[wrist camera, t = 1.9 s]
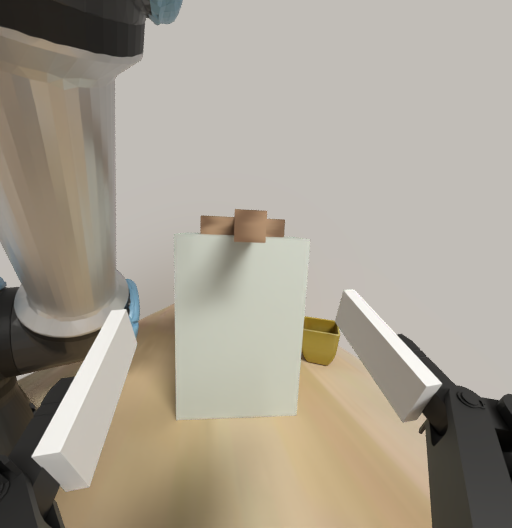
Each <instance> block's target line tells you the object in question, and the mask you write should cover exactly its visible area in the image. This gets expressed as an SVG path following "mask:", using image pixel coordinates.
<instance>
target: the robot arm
mask: <svg viewBox="0 0 512 528" xmlns="http://www.w3.org/2000/svg"><path fill="white" fill-rule="evenodd" d="M181 5H182V0H0V242H1V244H2V246H3V248H4V250H5V252H6V254H7V256H8V258H9V260H10V262H11V264H12V266H13V268H14V270H15V272H16V274H17V276H18V278H19V280H20V282H21V286H20V287H14V288H6V287H5V286H6V282H4V281H3V279H2V278H1V277H0V528H65V527H64V524H63V521H62V518H61V515H60V512H59V509H58V506H57V503H56V501H55V500H54V498H55V496H56V494H57V491H58V489H59V486H60V487H61V488H62V489H63V490H64V491H65V492H68V491H73V490H78V489H82V488H87V487H90V484H91V481H92V478H93V475H94V472H95V469H96V466H97V463H98V460H99V457H100V454H101V451H102V448H103V445H104V442H105V439H106V436H107V433H108V430H109V427H110V424H111V421H112V418H113V415H114V412H115V409H116V406H117V403H118V400H119V397H120V394H121V391H122V388H123V385H124V382H125V379H126V377H127V374H128V371H129V368H130V365H131V362H132V359H133V356H134V353H135V350H136V347H137V341H136V337H137V333H138V328H139V324H138V320H139V315H140V305H139V295H138V290H137V286H136V284H135V283H134V282H133V281H132V280H130V279H125V278H124V276H123V275H122V274H121V273H120V272H119V271H118V270H117V269H116V189H115V188H116V187H115V186H116V184H115V78H116V77H117V75H118V74H120V73H121V72H123V71H125V70H126V69H128V68H130V67H131V66H132V65H134V64H136V63H137V62H139V61H141V59H142V57H143V45H144V28H145V20H146V18H149V19H151V21H153V22H154V23H155V24H156V25H159V24H161V23H162V24H170V23H172V22H174V20H175V19H176V17H177V15H178V13H179V10H180V8H181ZM335 323H336V324H337V326H338V327H339V329H340V330H341V331H342V333H343V334H344V336H345V337H346V339H347V340H348V342H349V343H350V345H351V346H352V348H353V349H354V351H355V352H356V354H357V355H358V357H359V358H360V360H361V361H362V363H363V364H364V366H365V367H366V369H367V370H368V372H369V373H370V375H371V376H372V378H373V379H374V381H375V382H376V384H377V385H378V386H379V388H380V389H381V391H382V392H383V394H384V395H385V397H386V398H387V400H388V401H389V403H390V404H391V406H392V407H393V409H394V410H395V412H396V413H397V415H398V416H399V418H400V419H401V421H402V422H408V421H413V420H417V419H418V417H419V416H420V415H421V413H423V414H424V415H425V417H426V418H427V419H426V421H425V422H424V423H423V425H422V426H421V427H420V429H419V433H420V434H422V433H423V431H424V430H425V429H426V443H427V457H428V471H429V486H430V500H431V514H432V528H512V394H507V395H504V396H503V397H502V398H501V399H500V400H494V399H487V398H481V397H480V396H478V395H477V394H476V393H474V392H473V391H471V390H469V389H467V388H465V387H462V386H456V385H455V384H454V383H453V382H452V381H451V380H450V379H449V378H448V377H447V376H446V375H445V374H444V373H443V372H442V371H441V370H440V369H439V368H438V367H437V366H436V365H435V364H434V363H433V362H432V361H431V360H430V359H429V358H427V357H426V355H425V354H424V353H423V352H422V351H420V349H419V348H418V347H417V346H416V344H415V343H413V341H411V340H410V339H408V338H407V337H405V336H404V335H402V334H398V335H396V334H395V333H394V331H393V330H392V329H391V328H390V327H389V326H388V325H387V324H386V323H385V322H384V321H383V320H382V319H381V318H380V317H379V316H378V314H377V313H376V312H375V311H374V310H373V309H372V308H371V307H370V306H369V305H368V304H367V303H366V302H365V300H364V299H363V298H362V297H361V296H359V294H358V293H357V292H356V291H355V290H354V289H353V290H344V291H343V294H342V298H341V301H340V305H339V309H338V313H337V316H336V320H335ZM80 361H83V363H82V365H81V367H80V369H79V371H78V372H77V374H76V376H75V377H69V378H62V379H61V380H59V381H58V382H57V383H56V384H55V385H54V386H53V387H52V388H51V389H50V390H49V392H48V393H47V395H46V396H45V398H44V400H43V401H42V403H41V406H40V407H39V408H38V409H36V407H35V406H34V405H33V404H32V403H31V402H30V401H29V399H28V397H27V396H26V394H25V393H24V392H23V390H22V389H21V388H20V386H19V385H18V383H17V379H16V376H18V375H22V374H27V373H31V372H35V371H40V370H44V369H49V368H53V367H58V366H62V365H67V364H71V363H76V362H80Z"/></svg>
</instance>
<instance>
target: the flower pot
mask: <svg viewBox="0 0 512 528" xmlns="http://www.w3.org/2000/svg"><path fill="white" fill-rule="evenodd" d="M339 337H340V332H339V327H338V326H337V324H336V323H335V321H333V320H326V319H319V318H312V317H306V316H305V317H304V326H303V339H302V353H303V356H304V358H305V359H306V361H307V362H312V363H317V364H322V365H329V364H330V363H331V362H332V360H333V359H334V357H335V354H336V351H337V347H338V342H339Z"/></svg>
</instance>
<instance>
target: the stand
mask: <svg viewBox="0 0 512 528" xmlns="http://www.w3.org/2000/svg"><path fill="white" fill-rule="evenodd" d="M309 252H310V240H309V239H303V238H296V237H266V243H252V242H234V235H210V234H201V233H180V234H174V270H175V271H174V273H175V274H174V276H175V277H174V279H175V365H176V420H192V419H218V418H243V417H269V416H295V415H296V413H297V401H298V388H299V376H300V364H301V351H302V339H303V326H304V314H305V301H306V289H307V277H308V276H307V275H308V264H309Z"/></svg>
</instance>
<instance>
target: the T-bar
mask: <svg viewBox="0 0 512 528" xmlns="http://www.w3.org/2000/svg"><path fill="white" fill-rule="evenodd" d="M284 226H285V220H280V219H267V211H259V210H258V211H257V210H240V209H235V217H219V216H201V234H210V235H234V242H252V243H266V237H284Z"/></svg>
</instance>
